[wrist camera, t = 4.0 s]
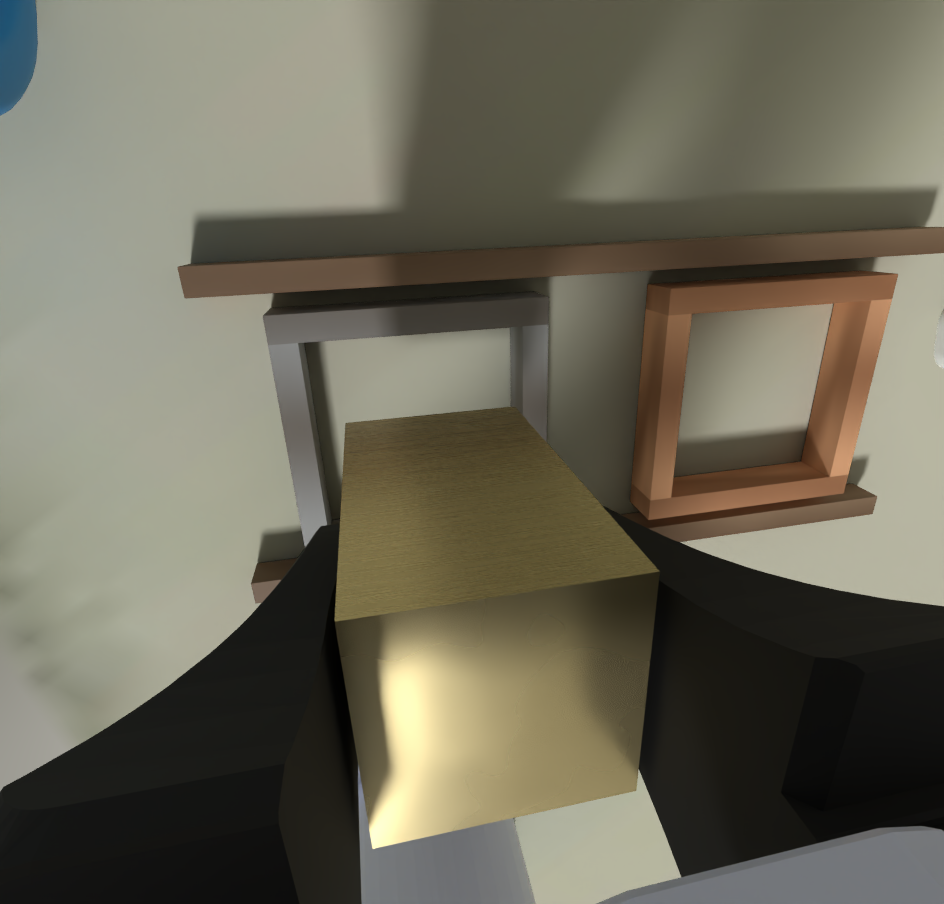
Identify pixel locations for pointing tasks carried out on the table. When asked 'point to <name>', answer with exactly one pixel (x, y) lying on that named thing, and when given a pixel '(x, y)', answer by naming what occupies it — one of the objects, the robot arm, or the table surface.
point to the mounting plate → (939, 342)
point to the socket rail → (662, 366)
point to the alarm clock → (16, 49)
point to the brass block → (484, 626)
